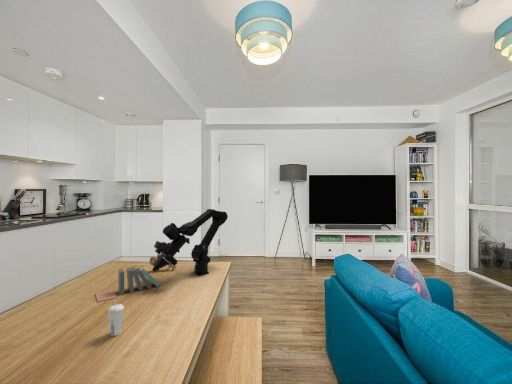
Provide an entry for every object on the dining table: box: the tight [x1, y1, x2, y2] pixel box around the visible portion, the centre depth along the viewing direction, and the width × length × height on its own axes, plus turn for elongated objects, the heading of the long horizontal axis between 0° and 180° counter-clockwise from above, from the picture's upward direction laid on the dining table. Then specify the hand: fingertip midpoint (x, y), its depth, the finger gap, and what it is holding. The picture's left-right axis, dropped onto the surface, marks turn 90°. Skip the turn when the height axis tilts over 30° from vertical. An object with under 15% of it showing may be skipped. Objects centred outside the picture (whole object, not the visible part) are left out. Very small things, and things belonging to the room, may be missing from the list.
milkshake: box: [107, 299, 125, 337], centre depth 81 cm, size 4×5×10 cm
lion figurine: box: [149, 255, 177, 273], centre depth 144 cm, size 15×5×9 cm, turn 118°
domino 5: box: [140, 268, 160, 288], centre depth 120 cm, size 2×5×10 cm
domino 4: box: [135, 267, 153, 290], centre depth 118 cm, size 2×5×10 cm, turn 37°
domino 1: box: [117, 268, 125, 296], centre depth 113 cm, size 2×5×10 cm, turn 37°
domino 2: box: [126, 267, 135, 294], centre depth 115 cm, size 2×5×10 cm, turn 37°
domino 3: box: [130, 266, 144, 292], centre depth 117 cm, size 2×5×10 cm, turn 37°
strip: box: [95, 289, 117, 303], centre depth 109 cm, size 7×10×1 cm
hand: (153, 270), depth 121 cm, fingers closed
